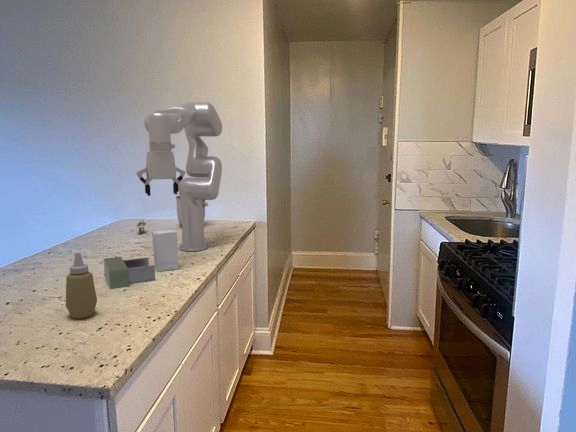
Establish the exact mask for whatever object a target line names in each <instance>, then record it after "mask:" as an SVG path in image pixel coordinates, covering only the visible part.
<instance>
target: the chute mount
mask: <svg viewBox="0 0 576 432" xmlns="http://www.w3.org/2000/svg"><path fill="white" fill-rule="evenodd" d="M149 261H150V260H149V257H147V256H146V257H139V258H130V259H123V258H122V256H117V257H116V256H115V257H108V258H107V257H106V258H103V268H104V276H105V277H104V278H105V279H106V282H107V283H108V288H109V289H110V290H113V289H119V288H127V287H130V285H131V284H139V283H144V282H145V283H146V282H154V281H156V269H155V264H151V265H150V264H149V263H150V262H149Z"/></svg>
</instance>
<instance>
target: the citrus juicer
mask: <svg viewBox="0 0 576 432" xmlns="http://www.w3.org/2000/svg"><path fill="white" fill-rule="evenodd" d="M175 198H176V213H177V214H176V215H177V220H178V221H177V222H178V224H179V226H180V228H182V216H181V201H180V195H177V196H176V195H175ZM198 201H199V202H200V204H201V205H202V207H203V219H204V220H205V217H206V216H205V215H206V207H209V202H206V200H198Z"/></svg>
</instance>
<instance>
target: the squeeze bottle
mask: <svg viewBox="0 0 576 432" xmlns="http://www.w3.org/2000/svg"><path fill="white" fill-rule="evenodd" d="M68 269H69V274H67V275H66V276H65V277H66V279H65V280H66V283H65V307H66V309H67V311H68V313H69V316H70V317H71V318H72V319H75V320H76V319H79V320H81V319H86V318H89V317H91V316H93V315H94V314H95V311H96V307H97V302H98V298H97V297H98V296H97V293H96V292H97V291H96V286H95V281H94V276H93V273H92V272H90V271H89V264H86V263H84V261H83V257H82V255H81V252H76V253H75V255H74V260H73V265H70V266H69V268H68Z"/></svg>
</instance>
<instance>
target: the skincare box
mask: <svg viewBox="0 0 576 432" xmlns="http://www.w3.org/2000/svg"><path fill="white" fill-rule="evenodd" d="M177 233H178V232H177V231H176V230H175V229H174V228H168V229H160V230H152V231H151V234H152V247H153V261H154V266H155V271H156V272H166V271H167V272H168V271H172V270H178V269H179V253H178V252H179V251H178V250H179V249H178V238H177V237H178V235H177Z"/></svg>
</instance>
